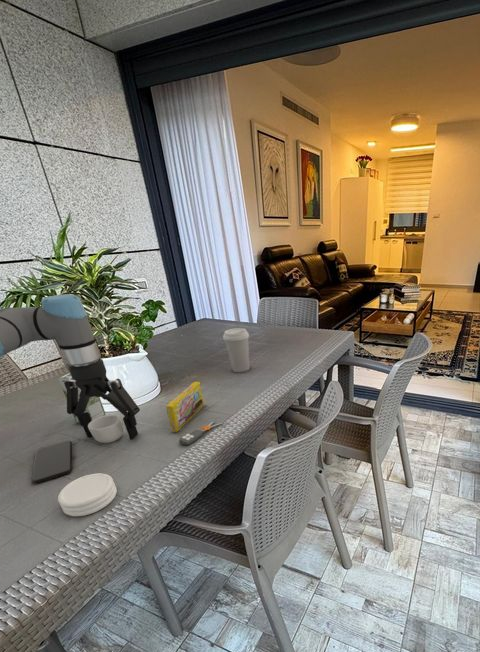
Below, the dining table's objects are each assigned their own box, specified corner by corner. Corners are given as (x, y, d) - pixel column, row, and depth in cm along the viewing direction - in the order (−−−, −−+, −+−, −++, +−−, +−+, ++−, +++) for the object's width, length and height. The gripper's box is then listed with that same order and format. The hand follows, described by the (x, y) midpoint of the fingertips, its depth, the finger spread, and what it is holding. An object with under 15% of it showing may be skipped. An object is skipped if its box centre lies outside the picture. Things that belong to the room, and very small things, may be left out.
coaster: (54, 521, 70) (46, 507, 68) (76, 487, 78) (70, 475, 76) (107, 514, 71) (101, 500, 69) (123, 481, 79) (119, 469, 78)
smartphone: (37, 451, 91) (32, 485, 79) (35, 449, 91) (30, 482, 79) (72, 442, 95) (73, 472, 83) (71, 439, 94) (71, 469, 82)
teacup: (115, 447, 92) (108, 429, 89) (88, 446, 93) (80, 429, 90) (136, 427, 100) (130, 410, 98) (111, 426, 101) (105, 410, 99)
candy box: (178, 432, 97) (171, 406, 93) (171, 432, 97) (164, 406, 93) (205, 405, 111) (200, 381, 107) (198, 404, 111) (193, 381, 107)
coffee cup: (231, 375, 131) (224, 336, 124) (226, 367, 139) (219, 329, 132) (256, 370, 134) (251, 332, 127) (250, 362, 142) (245, 326, 135)
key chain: (188, 446, 91) (187, 442, 90) (178, 443, 92) (177, 438, 92) (224, 423, 101) (223, 419, 100) (214, 420, 102) (213, 416, 102)
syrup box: (90, 413, 109) (73, 369, 102) (107, 414, 108) (90, 370, 101) (75, 422, 104) (56, 377, 97) (92, 424, 103) (74, 378, 96)
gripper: (139, 356, 88) (161, 429, 98) (51, 355, 90) (82, 427, 101) (121, 367, 81) (146, 444, 92) (27, 366, 84) (62, 441, 94)
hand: (113, 435), depth 96 cm, fingers open, 12 cm apart
